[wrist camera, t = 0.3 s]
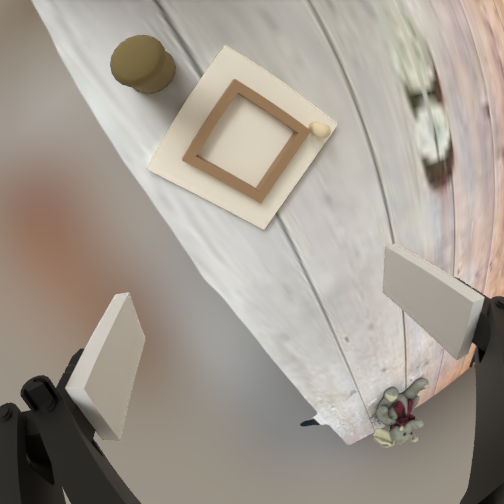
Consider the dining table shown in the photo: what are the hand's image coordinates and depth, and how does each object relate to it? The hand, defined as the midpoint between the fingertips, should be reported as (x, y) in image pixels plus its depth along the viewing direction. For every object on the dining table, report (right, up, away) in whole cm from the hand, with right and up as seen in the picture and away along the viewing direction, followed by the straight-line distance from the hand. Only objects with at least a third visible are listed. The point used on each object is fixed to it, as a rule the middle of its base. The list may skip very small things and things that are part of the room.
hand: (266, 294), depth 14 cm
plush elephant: (+51, -54, +76) cm, 106 cm away
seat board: (-2, +16, +21) cm, 27 cm away
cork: (-13, +24, +14) cm, 31 cm away
